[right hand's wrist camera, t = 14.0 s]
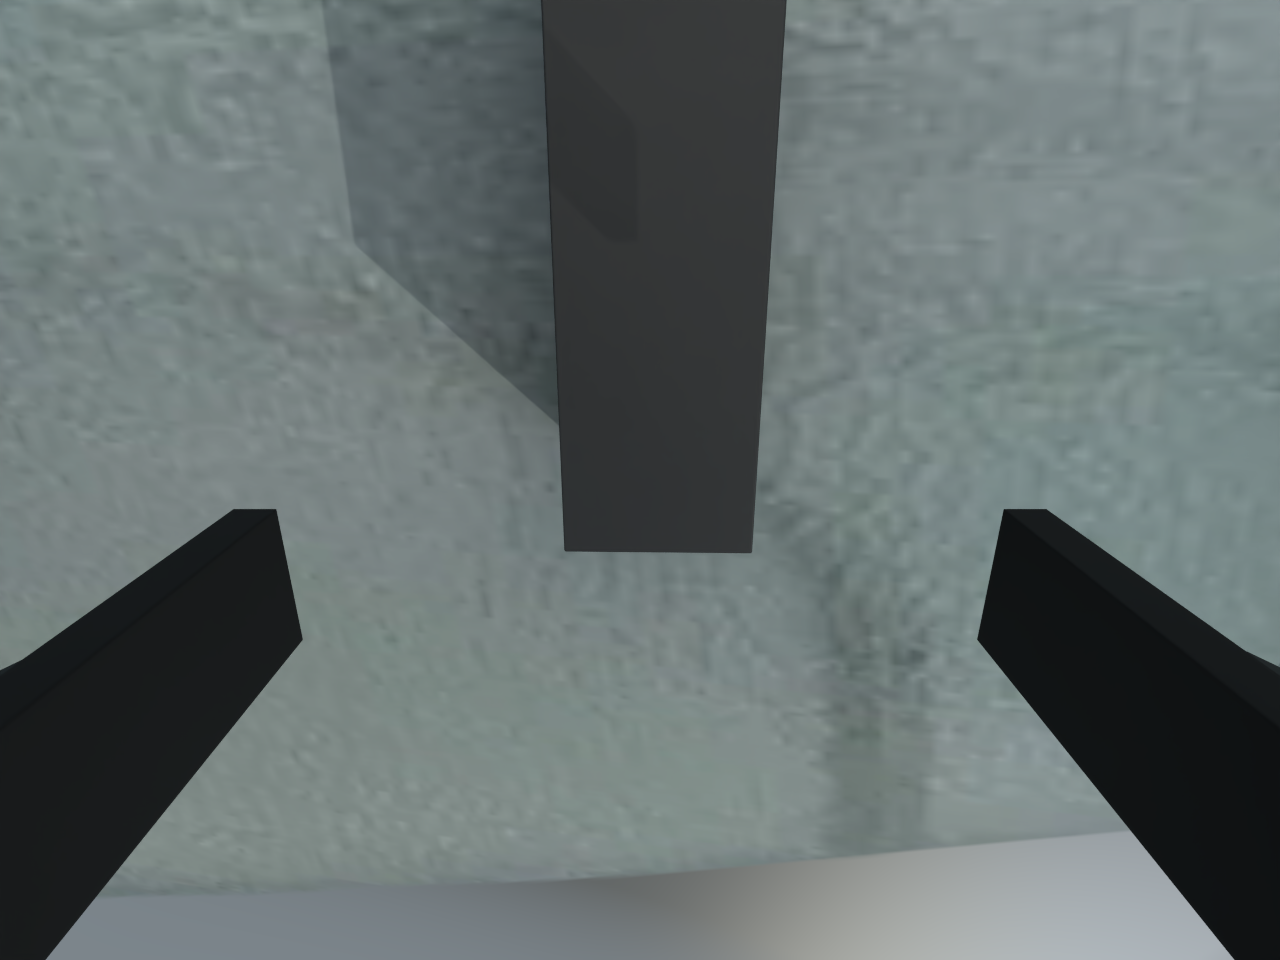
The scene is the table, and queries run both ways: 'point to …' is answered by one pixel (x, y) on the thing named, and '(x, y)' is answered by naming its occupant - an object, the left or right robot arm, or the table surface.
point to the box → (661, 263)
